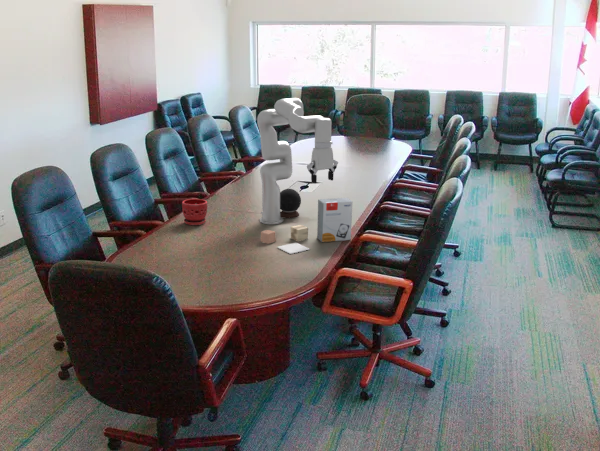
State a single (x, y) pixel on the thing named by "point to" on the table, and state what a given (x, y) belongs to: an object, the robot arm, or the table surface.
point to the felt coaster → (293, 248)
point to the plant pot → (194, 211)
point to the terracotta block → (268, 236)
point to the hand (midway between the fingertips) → (322, 181)
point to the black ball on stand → (289, 203)
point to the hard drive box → (334, 219)
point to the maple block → (299, 232)
